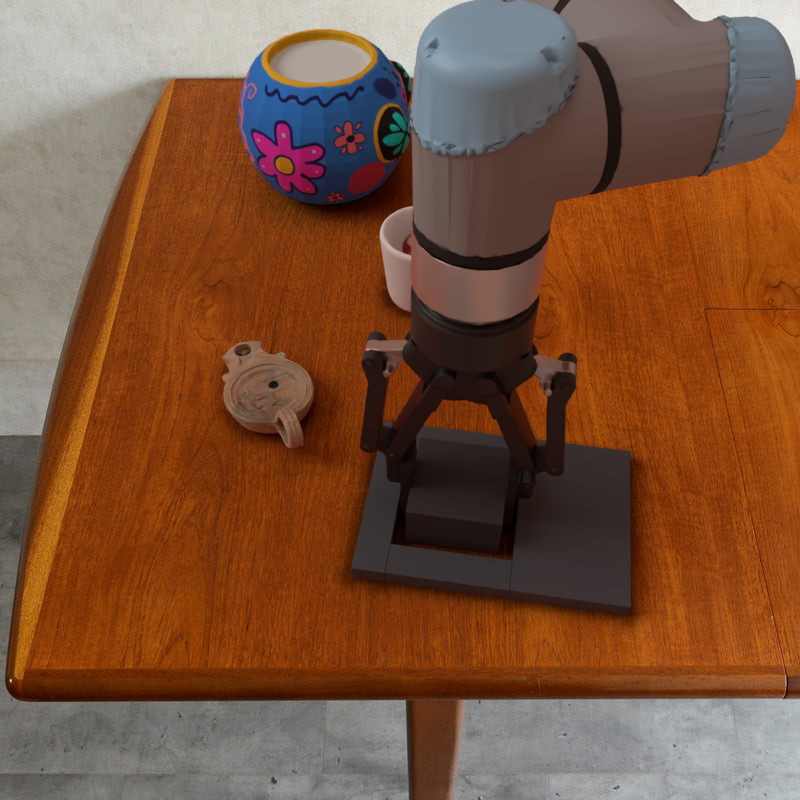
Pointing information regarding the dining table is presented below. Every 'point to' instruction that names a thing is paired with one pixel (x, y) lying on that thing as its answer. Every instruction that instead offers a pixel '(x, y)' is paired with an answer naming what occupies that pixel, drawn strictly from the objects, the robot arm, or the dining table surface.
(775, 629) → the dining table surface
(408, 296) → the cup
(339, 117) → the ceramic pot
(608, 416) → the dining table surface
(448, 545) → the black block
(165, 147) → the dining table surface
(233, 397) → the oil lamp
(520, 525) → the base pad
